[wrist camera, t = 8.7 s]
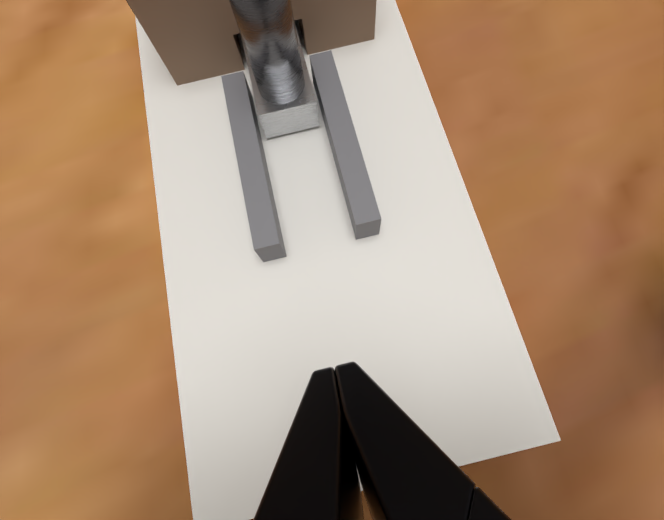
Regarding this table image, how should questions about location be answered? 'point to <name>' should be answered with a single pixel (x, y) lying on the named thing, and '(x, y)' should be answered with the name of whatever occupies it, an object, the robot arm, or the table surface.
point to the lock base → (320, 248)
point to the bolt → (276, 66)
